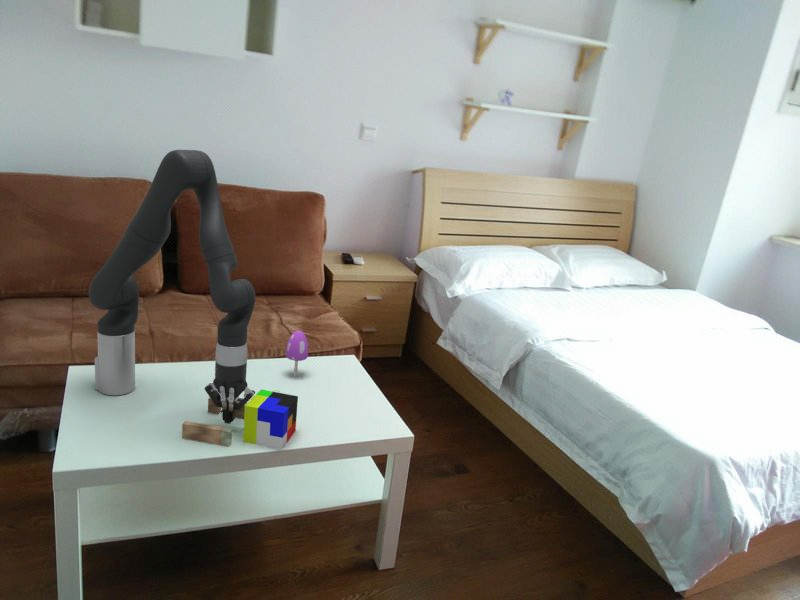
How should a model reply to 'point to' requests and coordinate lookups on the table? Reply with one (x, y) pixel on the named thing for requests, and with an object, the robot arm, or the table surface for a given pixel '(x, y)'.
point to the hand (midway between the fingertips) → (228, 422)
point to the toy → (297, 348)
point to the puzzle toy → (270, 419)
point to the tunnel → (211, 428)
